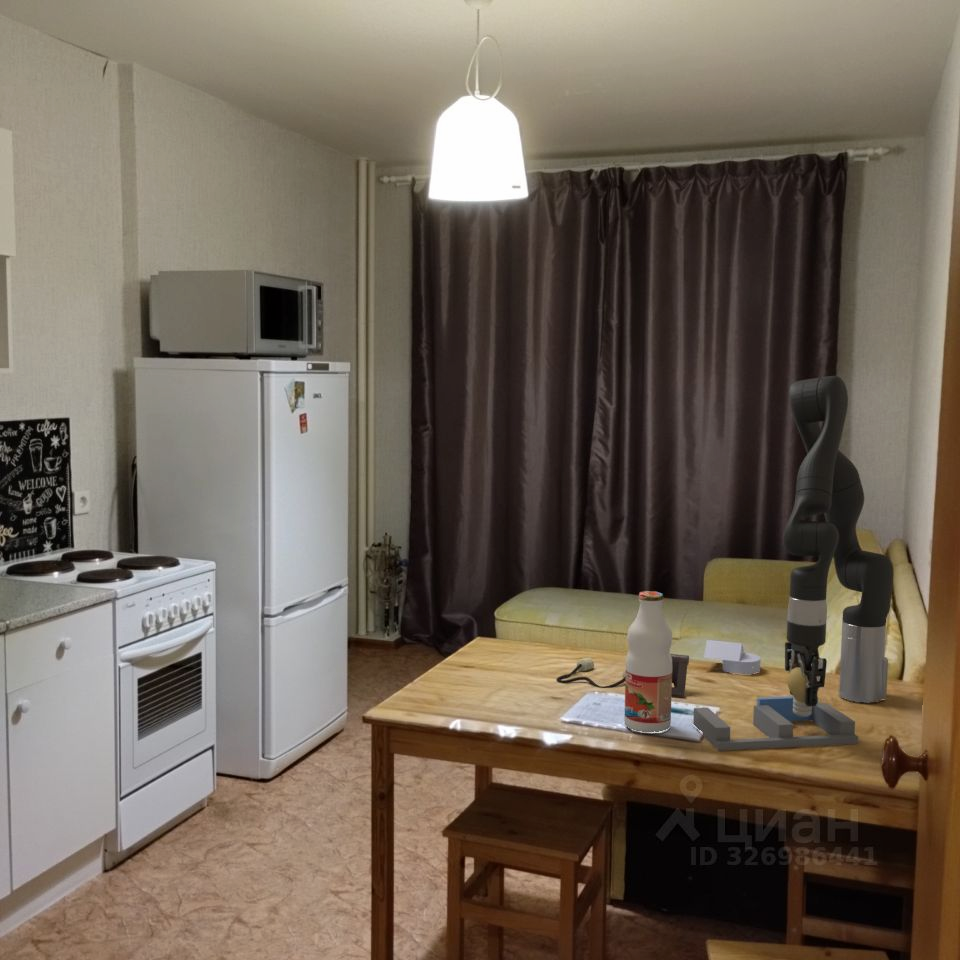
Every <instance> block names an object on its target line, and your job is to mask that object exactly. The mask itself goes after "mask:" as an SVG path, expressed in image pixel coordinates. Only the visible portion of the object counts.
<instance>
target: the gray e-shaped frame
mask: <svg viewBox="0 0 960 960" xmlns="http://www.w3.org/2000/svg"><path fill="white" fill-rule="evenodd" d="M793 699H794V696H793V695H791V696H790V695H789V696H768V697H764V696H763V697H757V698H756V705H753V720H752V724H753V725H754V726H755V728H756V729H758V730H759V731H760V732H761V733H763V734H764V735H766V737H761V738H758V737H756V738H755V737H754V738H739V739H731V726H730V725H729V724H727V723H726V722H725V721H724V720H723V719H722V718H721V717H719V716H718V715H717V714H716V713H715V712H714V711H712V709H710V708H709V707H694V708H693V721H692V722H693V723H692V725H693V724H694V725H695V726H696V727H697V728H698V729H699V730H701V731H702V732H703V735H704V737H705V738H706V739H707V740H706V739H705V738H704V737H703V738H704V739H705V740H706V741H709V742H708V743H709V744H710V745H711V746H713V747H714V749H715V750H717V751H720V752H721V751H737V750H738V751H739V750H756V749H778V748H782V749H783V748H798V747H801V748H802V747H820V746H822V747H823V746H841V745H858V744H859V736H858V734H855V731H856V730H855V729H856V728H855V727H856V721H855V720H853V719H852V718H850V717H849V716H848V715H846V714H844V713H843V712H841V711H840V710H838V709H837V708H835V707H834V706H832V705H831V704H829V703H828V702H819V697H818V696H817V705H816V706H812V714H811V715H810V716H808V717H801V716H797V715H795V714H794V713H793ZM805 720H807V722H809V721H810V720H812V721H811V722H812V723H813V724H815V725H816V726H817V727H819V728H820V729H821V730H822V731H824V732H825V733H827V735H825V734H823V735H805V736H804V735H803V736H802V735H801V736H794V724H793V723H792V722H806V721H805Z"/></svg>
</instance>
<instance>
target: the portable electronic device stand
mask: <svg viewBox="0 0 960 960" xmlns="http://www.w3.org/2000/svg"><path fill="white" fill-rule="evenodd" d="M670 655H671V657H672V685H673V686H672V695H671V697H677V698H684V697H685V694H686V683H687V682H686V681H687V674H688V673H687V672H688V671H687V670H688V666H689V664H690V656H689V655H687V654H675V653H670Z"/></svg>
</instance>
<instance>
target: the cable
mask: <svg viewBox="0 0 960 960" xmlns="http://www.w3.org/2000/svg"><path fill="white" fill-rule="evenodd" d="M594 667H595V662H594V660H593V658H591V657H585V658H580V659H578V660H577V662H576V667H575V668H573V670H572V671H571V672H569V673H567V674H563V675H560V676H558V677H557V678H556V680H555V681H556V682H558V683H561V684H568V683H573V682H576V681H587V682H588V683H589V684H590V685H592V686H594V687H595V688H600V689H611V688H615V687H617V686H619V685H622V684H623V683H624V682H625V679H626V669H625V670H624V671H623V672H622V679H621V680H619V681H617V682H615V683H612V684H608V685H603V686H601V685H599V684H597V683H595V681H593V680H592V679H591V678H589V677H587V676H578V677H574V678H570V677H572V675H574V674H576V672H578V670H579V672H586V671H587V672H588V671H590V670H593V669H594ZM566 678H570V679H566Z"/></svg>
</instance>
